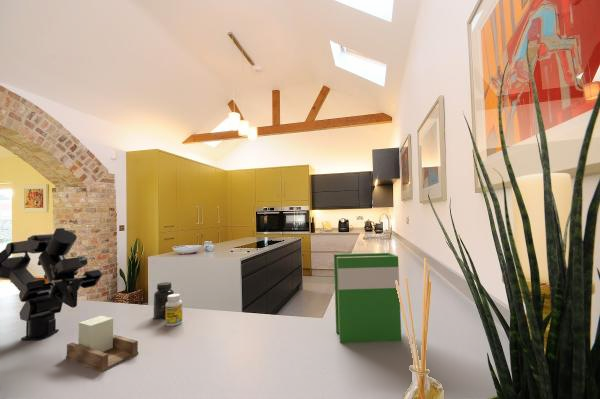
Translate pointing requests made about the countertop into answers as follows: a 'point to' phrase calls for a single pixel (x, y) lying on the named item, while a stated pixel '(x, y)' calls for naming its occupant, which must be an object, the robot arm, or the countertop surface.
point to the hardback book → (367, 297)
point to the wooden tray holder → (103, 353)
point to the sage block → (96, 333)
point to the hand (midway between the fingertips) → (74, 306)
